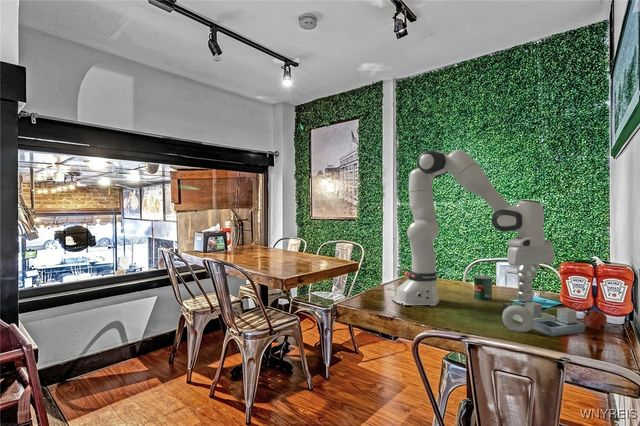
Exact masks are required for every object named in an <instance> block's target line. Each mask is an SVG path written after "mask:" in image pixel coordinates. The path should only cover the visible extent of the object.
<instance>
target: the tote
mask: <svg viewBox="0 0 640 426" xmlns="http://www.w3.org/2000/svg"><path fill="white" fill-rule="evenodd" d="M512 319H513V321H517V322H519V323H522V322H523V318H522V317H521V316H520V315H514V316H513V318H512ZM549 319H557V316H555V315H552V314H549V313H546V312H543V311H542V318H535V319H534V321H541V320H549Z"/></svg>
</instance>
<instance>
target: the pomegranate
mask: <svg viewBox="0 0 640 426" xmlns="http://www.w3.org/2000/svg"><path fill="white" fill-rule="evenodd" d="M582 313H583V314H584V315H583V318H582V320H583V324H585V326H586V327H587V328H589V329H592V330H601V329H602V328H604V329H606V327H605V326H606V325H607V321H608V317H607V315H606V314H605V313H604V312H602V311H600V310H596V309H592V310H589V311H582Z"/></svg>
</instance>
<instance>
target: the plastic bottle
mask: <svg viewBox="0 0 640 426" xmlns="http://www.w3.org/2000/svg"><path fill="white" fill-rule="evenodd" d="M531 270H532V267H531ZM516 272H517V273H516V275H517V280H518V287H517V291H516V297H517V298H516V299H517V300H518V301H519V302H523V303H525V302H533V301H534V293H533V285H532V283H533V281H532V280H533V276H528V275H527V270H526V269H525V267H524V265H521V266H517V269H516Z"/></svg>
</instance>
